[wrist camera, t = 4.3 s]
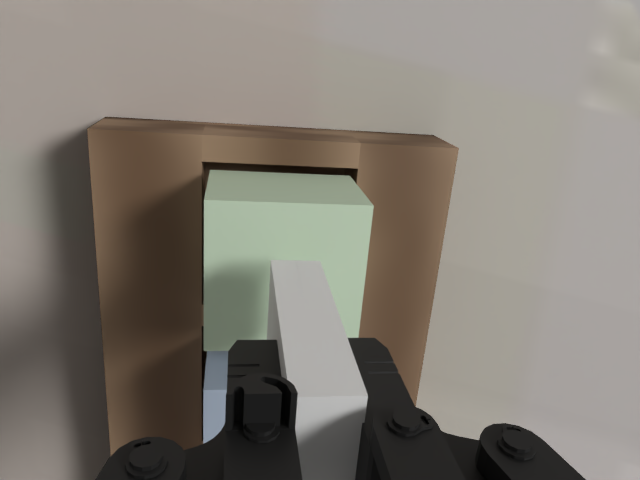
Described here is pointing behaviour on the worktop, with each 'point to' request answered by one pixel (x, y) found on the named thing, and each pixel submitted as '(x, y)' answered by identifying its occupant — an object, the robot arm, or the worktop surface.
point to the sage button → (279, 246)
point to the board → (188, 249)
